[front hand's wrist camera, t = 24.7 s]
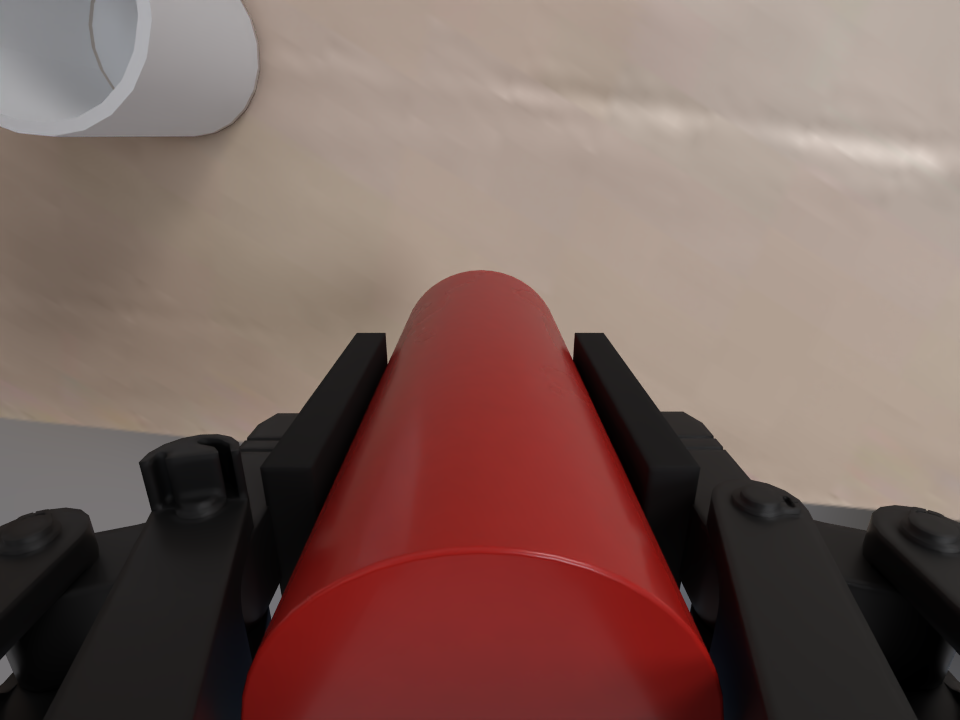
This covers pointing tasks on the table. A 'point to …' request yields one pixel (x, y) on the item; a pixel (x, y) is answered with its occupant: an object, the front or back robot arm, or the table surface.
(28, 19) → the mug
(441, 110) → the table surface
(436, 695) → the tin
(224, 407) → the table surface
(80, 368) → the table surface
